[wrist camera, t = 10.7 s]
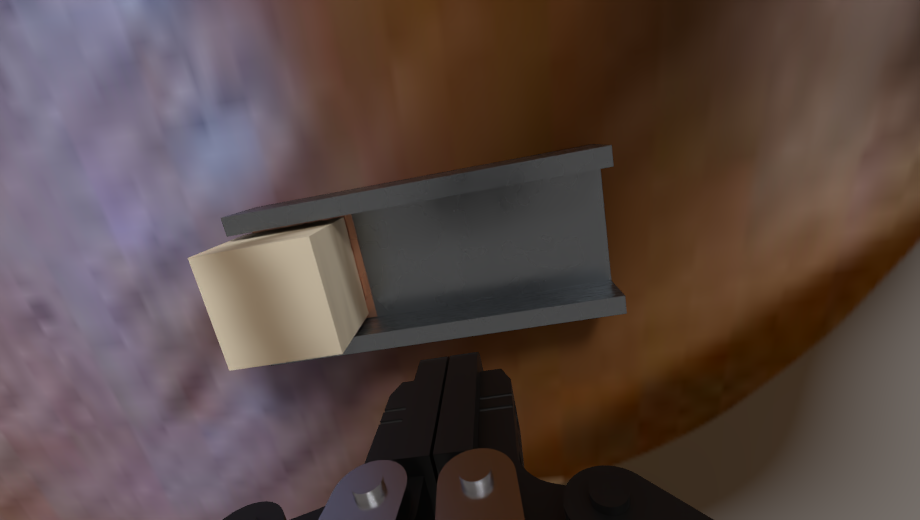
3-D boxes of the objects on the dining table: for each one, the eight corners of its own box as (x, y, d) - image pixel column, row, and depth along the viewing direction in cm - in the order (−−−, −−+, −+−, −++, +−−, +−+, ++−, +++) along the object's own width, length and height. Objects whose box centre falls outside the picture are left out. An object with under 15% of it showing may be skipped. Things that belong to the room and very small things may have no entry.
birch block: (343, 216, 24) (308, 236, 19) (368, 313, 26) (342, 353, 21) (244, 234, 25) (187, 258, 20) (275, 328, 26) (229, 370, 22)
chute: (593, 144, 24) (611, 145, 20) (608, 290, 26) (626, 313, 22) (255, 207, 26) (220, 218, 22) (296, 338, 28) (270, 365, 24)
